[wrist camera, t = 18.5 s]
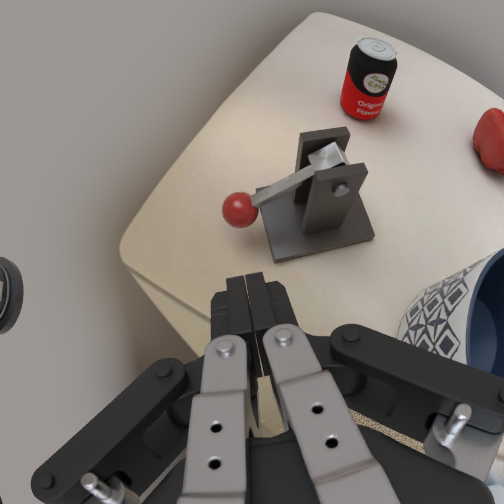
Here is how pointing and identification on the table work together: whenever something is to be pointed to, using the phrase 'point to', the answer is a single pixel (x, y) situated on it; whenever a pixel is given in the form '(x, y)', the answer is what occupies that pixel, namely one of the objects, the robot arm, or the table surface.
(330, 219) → the grey lever stand
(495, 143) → the vegetable
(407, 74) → the table surface
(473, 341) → the planter
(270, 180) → the table surface
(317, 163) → the tap lever
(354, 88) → the beverage can
